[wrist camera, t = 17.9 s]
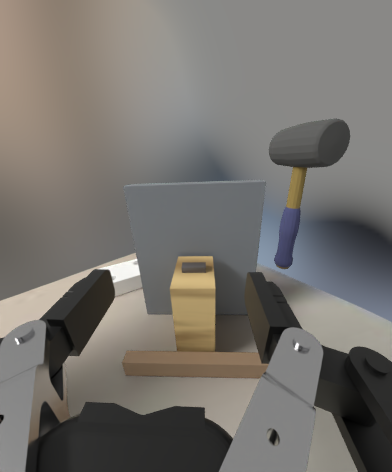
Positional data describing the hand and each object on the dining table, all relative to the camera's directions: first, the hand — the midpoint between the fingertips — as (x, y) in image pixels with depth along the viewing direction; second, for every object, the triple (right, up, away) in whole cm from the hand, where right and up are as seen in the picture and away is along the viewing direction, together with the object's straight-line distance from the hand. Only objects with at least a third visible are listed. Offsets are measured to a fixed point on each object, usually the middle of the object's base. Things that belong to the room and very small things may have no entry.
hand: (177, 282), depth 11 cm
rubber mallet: (+22, -5, +33) cm, 40 cm away
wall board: (+1, -12, +17) cm, 21 cm away
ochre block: (+1, -13, +17) cm, 21 cm away
